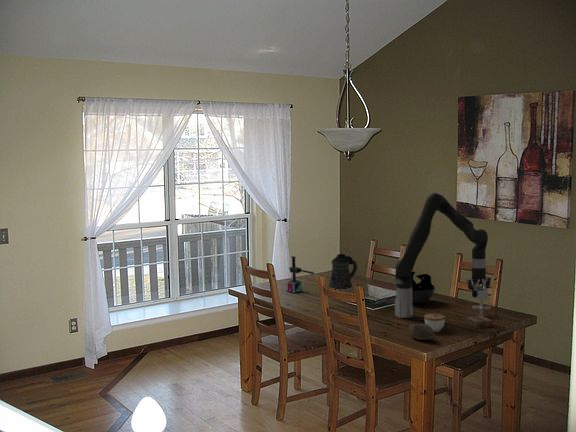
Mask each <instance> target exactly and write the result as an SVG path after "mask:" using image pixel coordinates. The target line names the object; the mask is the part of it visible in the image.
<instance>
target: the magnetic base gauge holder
mask: <svg viewBox="0 0 576 432" xmlns="http://www.w3.org/2000/svg"><path fill="white" fill-rule="evenodd" d="M290 258H291V265H292V266H288V269H289V272H290V273H292V280H289V281H287V285H286V286H287V290H285V292H287V293H290V294H298V293H303V292H304V290H303V289H302V288H303V287H302V284H303V283H302V281H300V280H298V279H297V275H296V274H299V273H305V274H306V273H307V274H310V275H314V274H315V271H309V270H305V269H302V268H301V267H298V266H296V258H297V257H296V256H293V255H292V256H290ZM289 290H291V291H289ZM298 290H299V291H298ZM293 291H295V292H293Z"/></svg>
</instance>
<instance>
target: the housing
mask: <svg viewBox="0 0 576 432" xmlns="http://www.w3.org/2000/svg"><path fill="white" fill-rule="evenodd" d="M470 291H471V293H470V296H471V298H474V297H473V296H472V290H470ZM474 299H475V300H478V301H480V300H483V301H485V300H488V289H484V288H483V287H481V285H478V287H477V288H476V298H474Z"/></svg>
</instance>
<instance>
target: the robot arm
mask: <svg viewBox="0 0 576 432" xmlns="http://www.w3.org/2000/svg"><path fill="white" fill-rule="evenodd" d="M437 211H438V212H440V213H441V214H443V215H444V216H445V217H446V218H448V219H449V221H450V222H451V223H452V224H453V225H454V226H455V227H456V228H458V229H459V230H460V231H461V232H462V233H463V234H464V235H465V237H466V238H467V239H468V240H469V241H470V242H471V243H473V244H474V247H472V249H471V278H470V279H469V278H468V279H466V284H467V289H468V290H469V291H471V290H472V296H473V297H474V299H476V288H477V287H478V286H481V287H483V288H484V289H486V290H488V289H489V288H490V285H491V280H492V278H491V277H489V276H486V275H487V261H486V249H487V247H488V246H487V245H488V240H489V239H488V238H489V235H488V232H487V231H486V230H485V229H475V228H474V226H475V225H474V223H473V222H472V221H471V220H470V219H468V218H467V217H466V216H464V215H463V213H460V212H459V211H458V210H457V209H456V208H455V207H454V206H453V205H451V203H450V202H449V201H448V200H447V199H446V197H444V196H443V195H442V194H439V193H437V192H432V193H431V194H429V195H428V196H427V197H426V200H425V201H424V205H423V207H422V210H421V214H420V215H419V217H418V220H417V221H416V223H415V225H414V228H413V230H412V232H411V234H410V235H409V239H408V241H407V242H408V243H407V245H406V250H405V253H404V254H403V256H402V258H401V259H399V260H398V261H397V262H396V263H395V270H394V271H395V293H396V294H395V295H396V299H394V315H395V316H396V317H397V318H399V319H409V318H413V313H414V312H413V302H412V272H413V270H414V267H415V264H416V261H417V259H418V257H419V254H420V253H421V252H422V250H423V248H424V246H425V245H426V242H427V240H428V238H429V236H430V234H431V228H432V221H433V218H434V216H435V214H436V212H437ZM473 297H472V298H473Z"/></svg>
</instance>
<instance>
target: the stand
mask: <svg viewBox="0 0 576 432" xmlns="http://www.w3.org/2000/svg"><path fill="white" fill-rule="evenodd" d="M463 323H464V324H465V325H468V326H470V327H472V328H474V329H481V328H482V329H483V328H490V327H495V326H494V324H493V320H492V319H490V318H487V317H486V316H484V315H483V316H480V315H477V316H468V317H465V321H464V322H463Z"/></svg>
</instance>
